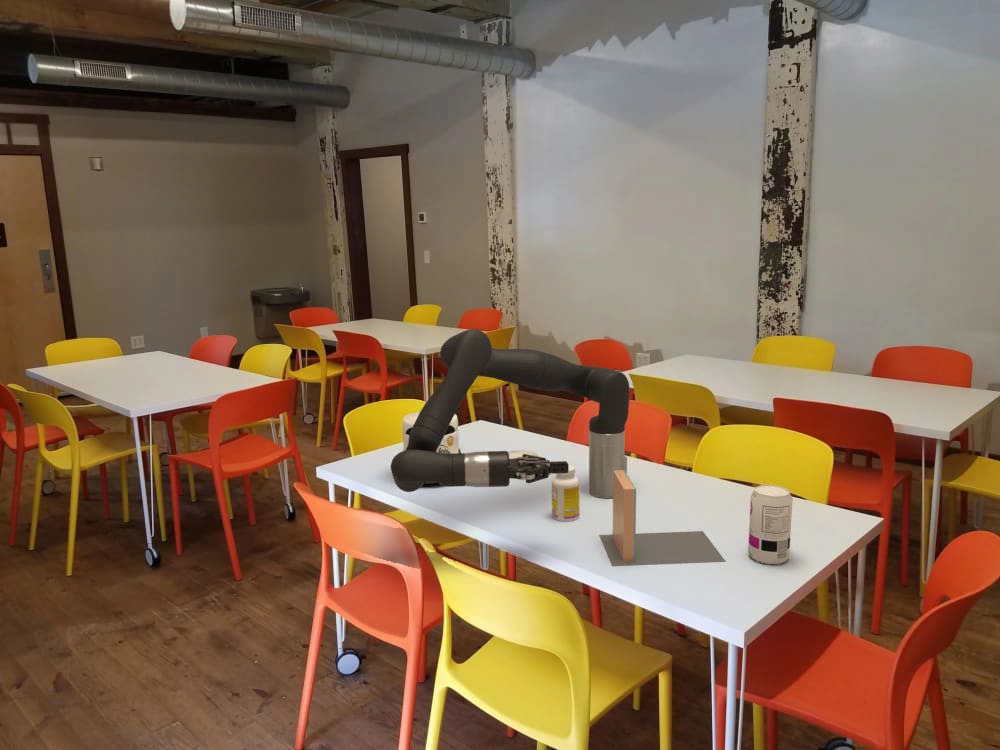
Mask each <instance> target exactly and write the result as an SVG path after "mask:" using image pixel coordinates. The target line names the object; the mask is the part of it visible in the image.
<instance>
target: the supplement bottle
mask: <svg viewBox="0 0 1000 750" xmlns="http://www.w3.org/2000/svg"><path fill="white" fill-rule="evenodd" d="M568 465H569V471H568V473H555V475H556V476H553V478H552V479H551V511H552V512H551V515H552V519H553V520H555V521H558V522H562V523H563V522H564V523H569V522H570V523H571V522H574V521H577V520H578V519H579V518H580V479H579V478H578V476H575V473H576V467H575V466H573V465H572V464H568Z"/></svg>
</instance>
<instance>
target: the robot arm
mask: <svg viewBox="0 0 1000 750" xmlns="http://www.w3.org/2000/svg"><path fill="white" fill-rule="evenodd" d="M439 354H440V356H439V357H440V360H441V362H442V364H443V365H444V366H445V367H446V368H447V370H448V372H447V373H446V375H445V377H444V378H443V380H442V381H441V382H440V384H439V385H438V387H437V388H436V389H435V390H434V391H433V393H432V394H431V395H430V397H429V398H428V399H427V401H426V402H425V403H424V405H423V407H422V408H421V410H420V411H419V412H420V413H419V415H418V417H417V419H416V421H415V423H414V425H413V427H412V429H411V432H410V435H409V442H408V446H407V448H406V450H405V451H403V450H402V451H400V452H398V453H397V454H396V455H395V456H393V458H392V459H391V463H390V471H391V474H392V478H393V481H394V484H395V485H396V486H397V488H398V489H400V490H401V491H403V492H405V493H412V492H415V491H417V490H419V489H421V487H423V486H424V485H425V484H424V482H425V481H431V482H438V483H439V484H438V485H440V486H441V487H452V488H453V487H454V488H455V487H456V488H457V487H469V488H470V487H473V488H497V487H498V488H499V487H500V488H501V487H502V488H503V487H508V486H510V479H514V480H519V481H525V482H526V483H525V484H533V483H536V482H538V481H541V480H542V481H543V480H545V479H548V478H549V476H551V475H553V474H555V475H556V473H568V471H569V465H570V464H569V463H568V462H567V461H565V460H563V461H562V460H561V461H556V460H555V461H550V459H549V460H548V459H547V458H546V457H543V456H542V457H541V456H539V455H538V456H539V457H538V456H533V455H528V454H523V455H522V457H518V458H514V459H509V453H508V452H507V450H496V451H495V450H494V451H493V450H489V451H487V450H486V451H485V450H484V451H483V450H482V451H473V452H472V451H471V452H465V453H463V452H461V453H453V454H452V453H451V454H442V453H437V452H436V451H437V449H438V447H439V445H440V443H441V441H442V439H443V437H444V435H445V433H446V431H447V429H448V427H449V425H450V423H451V420H452V418H453V416H454V415H455V414H456V413H457V410H458V409H459V407H460V405H461V404H462V401H463V400H464V398H465V396H466V395H467V393H468V391H469V390H470V389H471V387H472V385H473V384H474V382H475V381H476V379H477V377H483V378H484V377H485V378H492V379H495V380H499V381H503V382H507V383H510V384H514V385H518V386H523V387H527V388H530V389H533V390H539V391H544V392H568V393H571V394H576V395H577V396H581V397H583V398H586V399H588V400H591V401H592V402H595V403H598V404H599V405H598V415H595V416H592V417H591V418H590V419H589V422H588V440H589V441H588V493H589V494H590V495H592V496H594V497H596V498H600V499H601V498H603V499H613V471H616V470H625V472H626V474H627V475H628V457H627V456H626V455H625V449H626V448H625V447H626V446H625V443H626V442H625V441H626V440H625V439H626V438H625V437H626V429H625V427H626V423H627V421H628V419H629V408H630V394H631V393H630V389H631V388H630V383H629V380H628V378H627V376H626V375H625V374H624V373H623V372H620V371H618V370H614V369H609V368H606V367H601V366H600V367H599V366H589V365H582V364H576V363H573V362H570V361H568V360H566V359H564V358H562V357H560V356H557V355H555V354H551V353H548V352H543V351H540V350H536V349H528V348H494V347H492V342H491V339H490V337H489V336H488V335H487V334H486V333H485V332H484V331H482V330H480V329H478V328H477V329H474V328H472V329H467V330H464V331H461V332H460V333H456V334H455V335H453V336H451V337H449V338H448V339H447V340H445V342H444V343H443V344H442V346H441V348H440V352H439Z"/></svg>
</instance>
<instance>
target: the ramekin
mask: <svg viewBox="0 0 1000 750" xmlns="http://www.w3.org/2000/svg"><path fill="white" fill-rule="evenodd" d="M506 451H507V450H506ZM507 452H508V453H509V459H514V458H518V457H522V455H523V454H528V455H533V456H538V457H540V456H539V454H538V452H535V451H532V450H525V449H515V450H508V451H507Z"/></svg>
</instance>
